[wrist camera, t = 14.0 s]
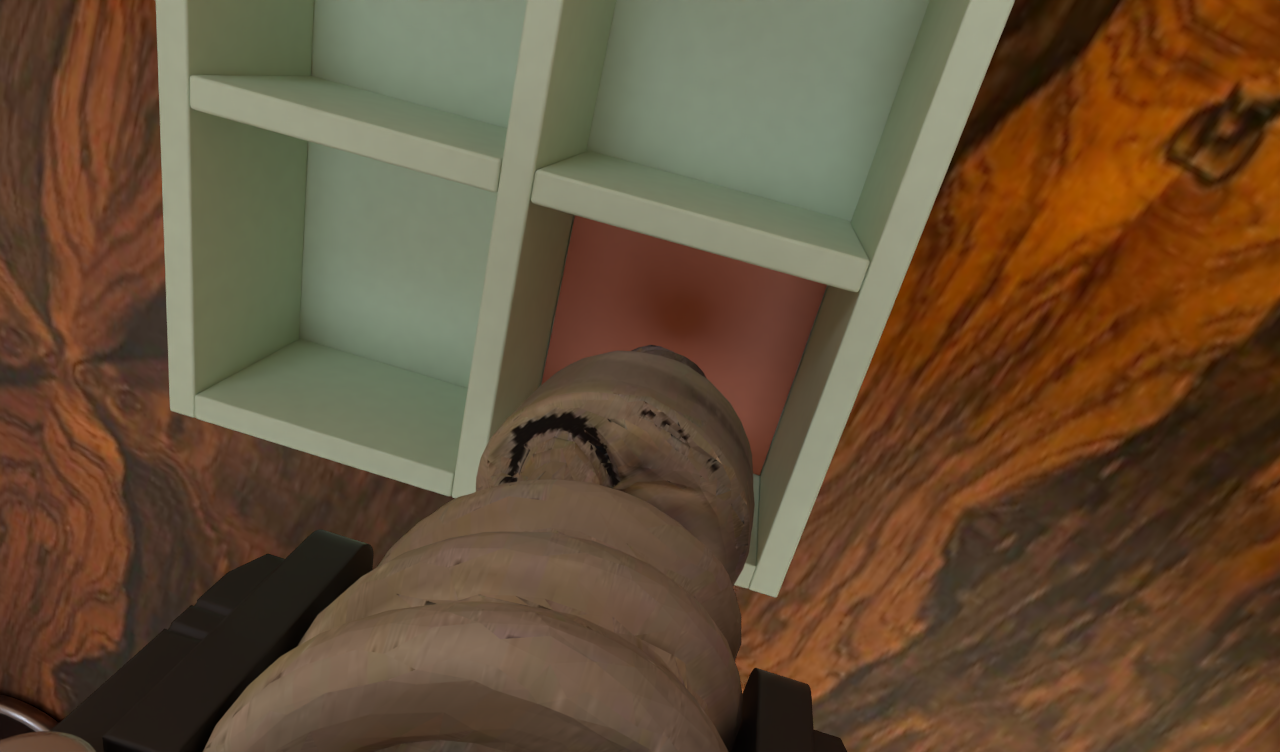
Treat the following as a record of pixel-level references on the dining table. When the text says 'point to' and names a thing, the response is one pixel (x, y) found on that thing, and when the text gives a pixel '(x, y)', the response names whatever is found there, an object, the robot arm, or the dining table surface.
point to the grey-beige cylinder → (544, 590)
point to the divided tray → (548, 213)
